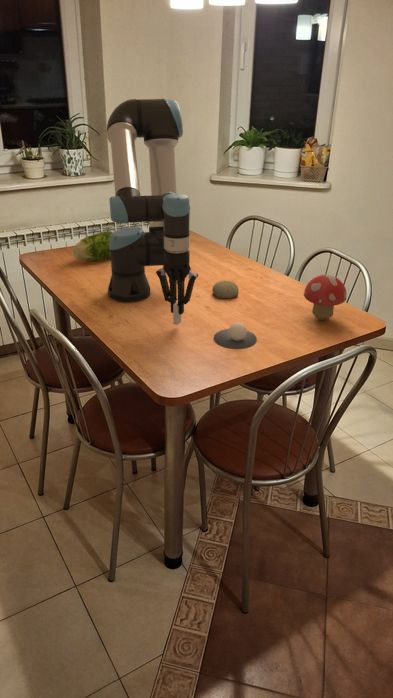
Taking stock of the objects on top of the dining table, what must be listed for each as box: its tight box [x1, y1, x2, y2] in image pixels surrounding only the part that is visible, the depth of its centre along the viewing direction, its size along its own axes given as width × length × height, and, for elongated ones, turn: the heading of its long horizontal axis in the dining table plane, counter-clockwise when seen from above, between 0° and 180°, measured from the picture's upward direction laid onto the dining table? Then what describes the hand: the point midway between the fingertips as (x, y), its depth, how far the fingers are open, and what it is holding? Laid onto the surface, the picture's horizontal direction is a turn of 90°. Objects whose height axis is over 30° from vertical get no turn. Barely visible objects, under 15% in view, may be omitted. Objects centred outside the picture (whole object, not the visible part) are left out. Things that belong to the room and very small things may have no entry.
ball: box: [228, 322, 248, 341], centre depth 158 cm, size 6×6×6 cm
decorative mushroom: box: [303, 274, 347, 321], centre depth 169 cm, size 13×13×15 cm
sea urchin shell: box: [212, 280, 239, 299], centre depth 190 cm, size 9×8×8 cm
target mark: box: [213, 328, 258, 350], centre depth 160 cm, size 13×13×1 cm
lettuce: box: [72, 230, 114, 262], centre depth 220 cm, size 12×21×11 cm, turn 129°
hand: (177, 322), depth 165 cm, fingers closed
